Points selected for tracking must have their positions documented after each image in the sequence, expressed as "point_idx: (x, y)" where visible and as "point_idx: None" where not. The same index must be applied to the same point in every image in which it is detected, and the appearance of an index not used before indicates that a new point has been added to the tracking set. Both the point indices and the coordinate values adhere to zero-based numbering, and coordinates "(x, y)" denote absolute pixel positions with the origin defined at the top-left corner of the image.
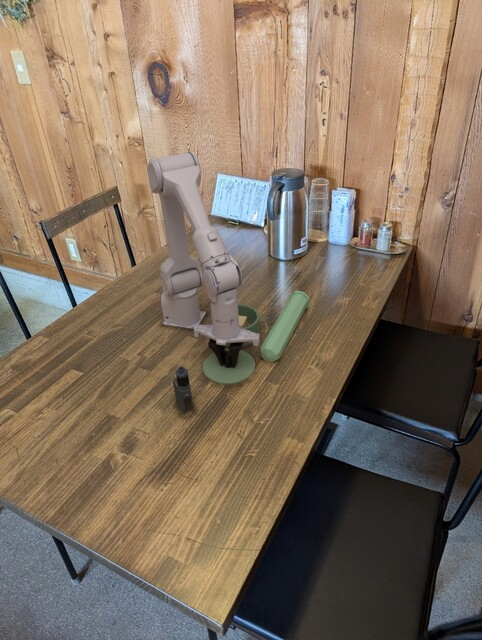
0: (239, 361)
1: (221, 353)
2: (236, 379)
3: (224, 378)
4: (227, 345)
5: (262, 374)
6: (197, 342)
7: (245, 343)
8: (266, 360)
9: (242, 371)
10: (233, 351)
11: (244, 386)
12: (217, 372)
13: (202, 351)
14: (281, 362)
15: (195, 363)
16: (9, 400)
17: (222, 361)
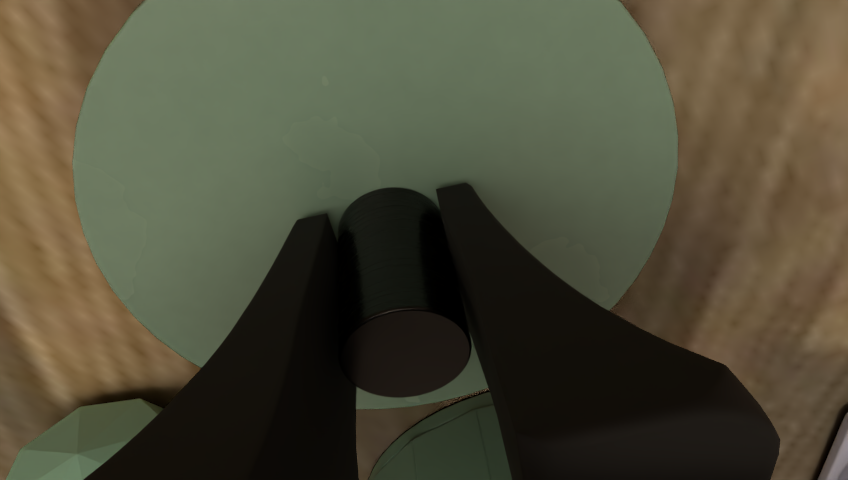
0: None
1: (479, 325)
2: (149, 76)
3: (302, 21)
4: None
5: (44, 275)
6: (804, 324)
7: (406, 464)
8: (123, 408)
9: (192, 217)
10: (170, 470)
11: (45, 46)
12: (448, 76)
13: (733, 266)
14: (37, 431)
15: (760, 110)
16: None
17: (446, 231)
